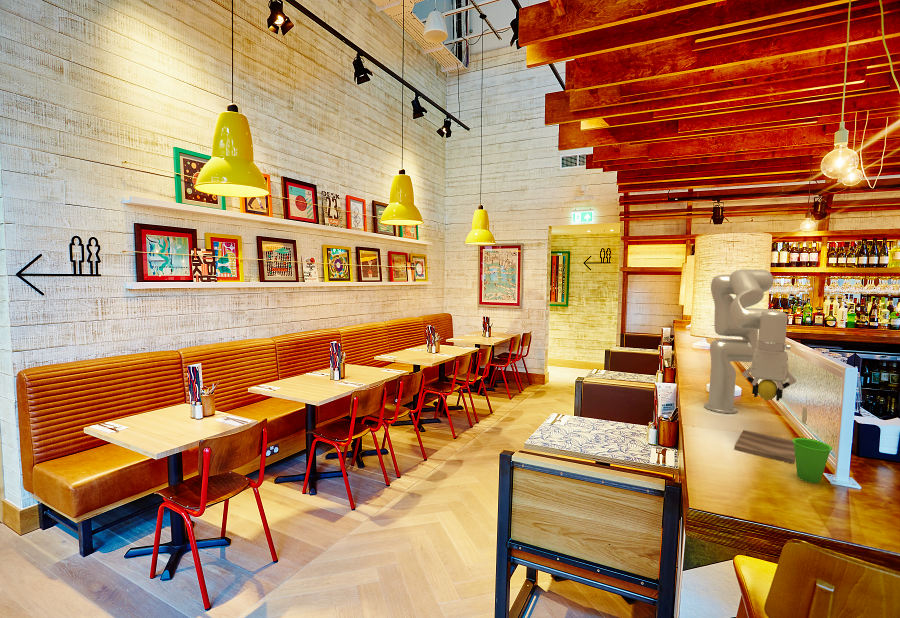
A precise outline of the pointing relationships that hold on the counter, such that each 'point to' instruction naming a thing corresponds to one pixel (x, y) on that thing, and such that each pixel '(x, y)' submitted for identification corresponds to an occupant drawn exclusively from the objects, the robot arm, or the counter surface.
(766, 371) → the robot arm
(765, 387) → the lemon
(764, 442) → the serving board
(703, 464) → the counter surface
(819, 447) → the cup
